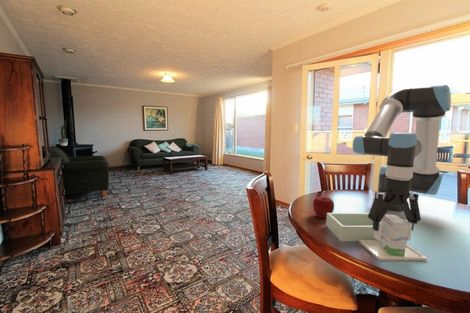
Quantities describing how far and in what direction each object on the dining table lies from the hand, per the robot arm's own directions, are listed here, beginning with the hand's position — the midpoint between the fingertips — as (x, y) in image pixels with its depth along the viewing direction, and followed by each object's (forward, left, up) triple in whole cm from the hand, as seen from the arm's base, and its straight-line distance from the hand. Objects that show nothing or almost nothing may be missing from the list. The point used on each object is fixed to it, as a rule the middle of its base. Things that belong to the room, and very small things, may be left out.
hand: (391, 238), depth 81 cm
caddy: (+2, -14, -5) cm, 15 cm away
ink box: (0, 0, -4) cm, 4 cm away
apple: (+12, -31, -5) cm, 34 cm away
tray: (0, 0, -5) cm, 5 cm away
